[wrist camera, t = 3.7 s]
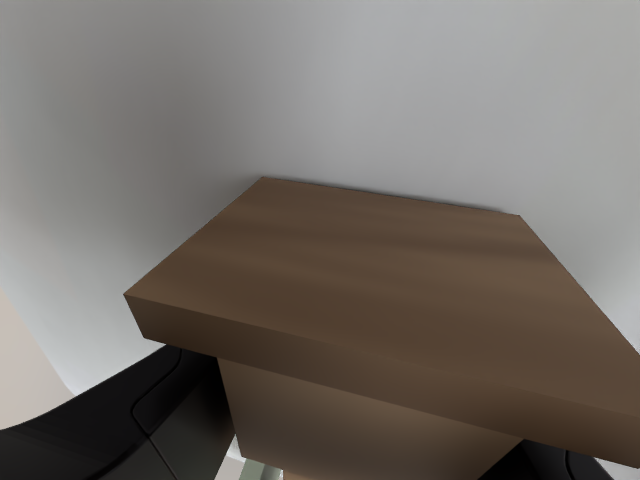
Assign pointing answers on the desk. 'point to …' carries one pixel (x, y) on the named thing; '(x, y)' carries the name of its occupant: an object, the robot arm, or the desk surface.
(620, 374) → the brown wooden stepped block
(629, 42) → the desk surface
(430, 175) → the desk surface
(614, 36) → the desk surface
